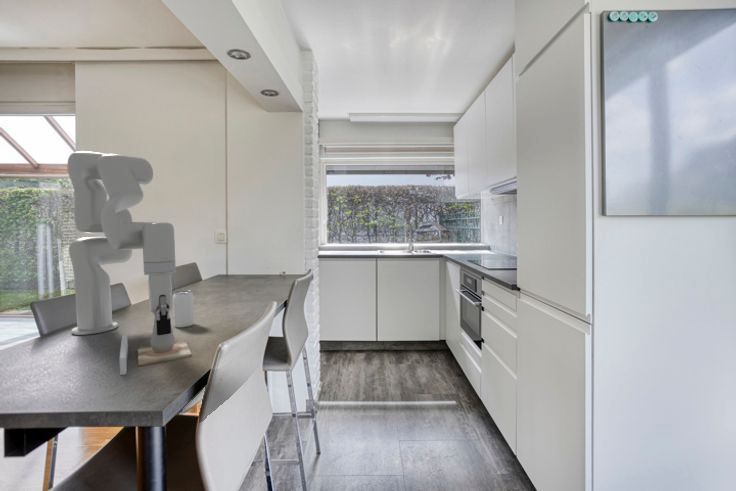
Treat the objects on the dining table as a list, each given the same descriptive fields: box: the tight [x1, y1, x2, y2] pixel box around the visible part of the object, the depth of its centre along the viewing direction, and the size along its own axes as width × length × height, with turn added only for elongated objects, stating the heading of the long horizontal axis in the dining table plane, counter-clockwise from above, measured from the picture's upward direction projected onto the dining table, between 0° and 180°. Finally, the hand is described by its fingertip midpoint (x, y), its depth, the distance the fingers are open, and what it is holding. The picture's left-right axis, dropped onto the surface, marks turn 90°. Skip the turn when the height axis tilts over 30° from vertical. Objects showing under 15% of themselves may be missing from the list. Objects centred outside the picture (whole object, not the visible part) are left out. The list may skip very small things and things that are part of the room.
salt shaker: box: [150, 305, 176, 353], centre depth 98 cm, size 6×6×13 cm
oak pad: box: [137, 339, 192, 367], centre depth 98 cm, size 14×12×1 cm
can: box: [172, 289, 196, 329], centre depth 126 cm, size 6×6×12 cm
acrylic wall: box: [118, 334, 129, 376], centre depth 93 cm, size 22×1×4 cm, turn 33°
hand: (162, 329), depth 98 cm, fingers open, 9 cm apart
